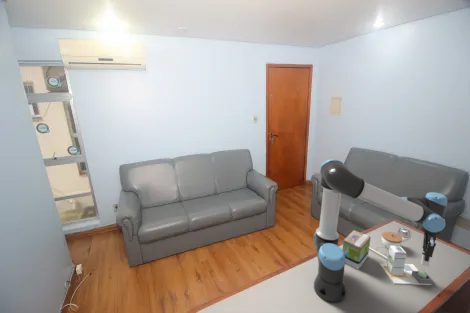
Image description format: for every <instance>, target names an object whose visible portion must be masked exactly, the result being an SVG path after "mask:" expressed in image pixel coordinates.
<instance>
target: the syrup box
mask: <svg viewBox="0 0 470 313" xmlns="http://www.w3.org/2000/svg"><path fill="white" fill-rule="evenodd" d="M406 258H407V251H405V249H404V248H402V245H401V246H390V248H389V249H388V256H387V263H386V264H387V268H388V270H389V271H390V273H391V274H392V275H401V276H403V273H404V266H405V264H406Z"/></svg>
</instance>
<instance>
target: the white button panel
mask: <svg viewBox="0 0 470 313" xmlns="http://www.w3.org/2000/svg"><path fill="white" fill-rule="evenodd" d="M379 266H380V268H381V269H382V270H383V271H384V272H385V275H387V276H388V278H389V279H390V281H391V282H392V283H393V284H394V285H416V286H418V285H420V286H421V285H422V286H432V285H433V284H432V283H433V278H431V276H430V275H428V274H427V278H420V277H419V276H418V275H417V274H418V270H419V269H418V267H416V266H415V265H414V264H413V263H405V266H404V273H403V276H401V275H392V274H391V273H390V271H389V270H388V268H387V263H379Z"/></svg>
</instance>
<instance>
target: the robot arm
mask: <svg viewBox="0 0 470 313" xmlns="http://www.w3.org/2000/svg"><path fill="white" fill-rule="evenodd" d="M319 169H320V174H321V177H320V178H321V180H320V186H321V188H322V198H321V208H320V217H319V226H318V227H317V228H316V229H315V233H314V235H313V245H314V247H315V253H316V257H317V260H318V261H317V262H318V265H317V266H318V268H317V269H318V270H317V274H316V277H315V279H314V281H313V289H314V292H315V293H316V295H318V297H319V298H320V299H321V300H323V301H325V302H327V303H333V304H337V303H342V302H343V301H345V299H346V298H347V297H346V296H347V288H346V284H345V281H344V277H345V276H344V275H345V264H346V263H345V254H344V252H343V250H342V249H343V248H341V247H340V246H339V238H340V234H339V232H337V228H338V221H339V214H340V205H341V199H342V198H341V197H342V195H344V196H347V197H349V198H351V199H354V200H356V199H359V200H361V201H364V202H366V203H369V204H371V205H374V206H375V207H378V208H380V209H383V210H385V211H387V212H390V213H392V214H395V215H397V216H399V217H400V218H401V217H402V218H403V219H406V220H408V221H410V222H414V223H415V224H418V225H419V226H420V228H421V230H422V232H423V242H422V252H421V255H422V258H421V266H425V267H430V260H431V258H433V254H434V251H435V247H436V246H437V243H436V240H437V236H439V235H441V234H442V232H443V230H444V229H445V228H446V220H445V215H446V211H447V206H448V197H447V196H446V195H445V194H443V193H439V192H435V191H430V192H427V193H426V194H425V196H424V197H422V196H421V197H416V196H415V197H414V196H401V197H400V196H398V195H396V194H394V193H391V192H389V191H387V190H384V189H382V188H379V187H378V186H375V185H372V184H370V183H368V182H366V180H365V179H364V178H361V177H360V176H358V175H356V174H355V173H353V172H352V171H351V170H350V169H349V168H348V167H347V166H346V165H345V163H344V162H342V161H340V160H339V159H335V158H331V159H327V160H325V161H324V162H322V164H321V166H320V168H319Z"/></svg>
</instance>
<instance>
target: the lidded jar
mask: <svg viewBox="0 0 470 313" xmlns="http://www.w3.org/2000/svg"><path fill="white" fill-rule="evenodd" d="M381 243H382V244H383V246H384V247H385V248H386V249H388V250H389V248H390V246H401V247H402V244H403V237H402V236H401V235H399V234H398V233H396V232H392V231H383V232H382V233H381Z"/></svg>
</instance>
